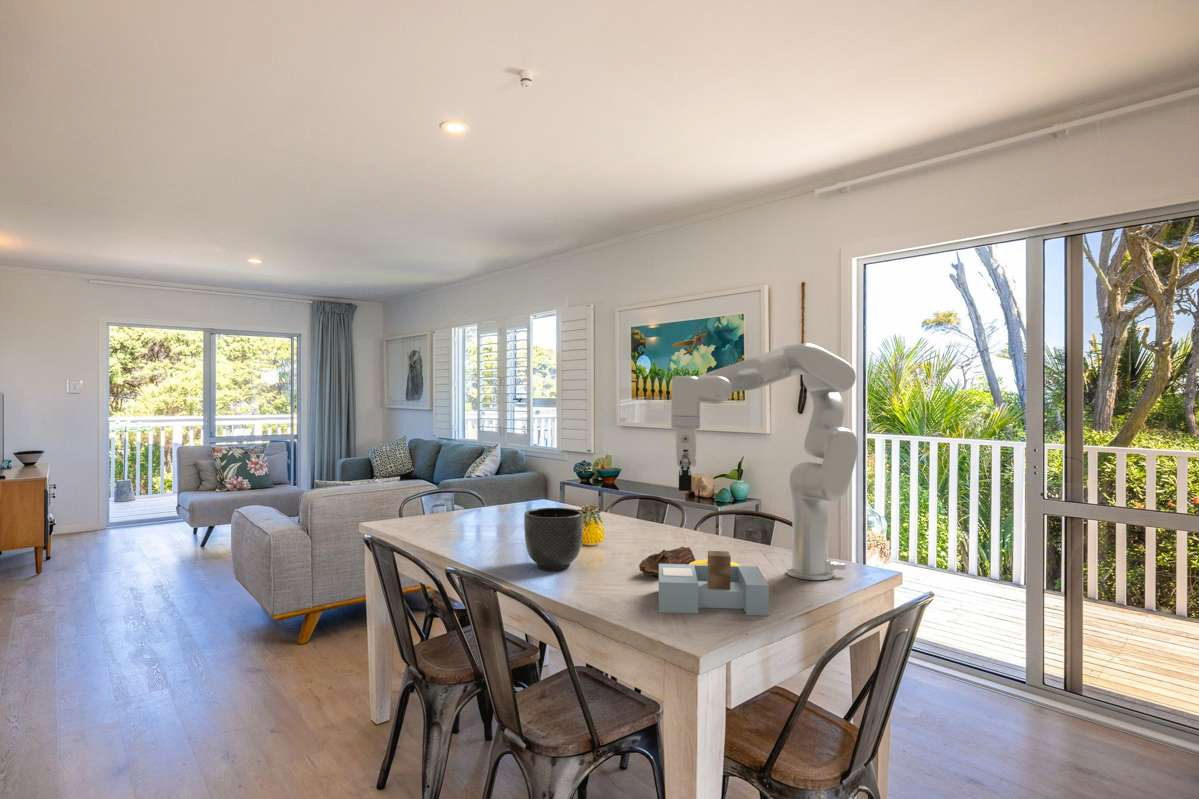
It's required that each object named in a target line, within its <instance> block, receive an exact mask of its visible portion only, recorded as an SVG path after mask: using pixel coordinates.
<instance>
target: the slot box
mask: <svg viewBox="0 0 1199 799" xmlns="http://www.w3.org/2000/svg"><path fill="white" fill-rule="evenodd" d="M769 590H770V585H769V583H768V581H767V580H766V579H765V577H764V575H763V573H762V572H761V570H760V568H759V567H758V566H757V565H741V566H731V569H730V590H724V589H709V586H708V565H692V564H659V576H658V612H659V613H666V614H667V613H670V614H675V613H676V614H699V608H705V609H707V608H708V609H738V610H739V609H741V610H743V611H744V613H745V615H746V616H760V617H761V616H762V617H763V616H764V617H767V616H769V615H770V614H769V612H770V610H769V609H770V608H769V605H770V603H769V602H770V600H769V599H770V598H769V597H770V596H769V595H770V594H769V593H770V591H769Z"/></svg>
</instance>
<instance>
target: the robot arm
mask: <svg viewBox="0 0 1199 799" xmlns="http://www.w3.org/2000/svg"><path fill="white" fill-rule="evenodd" d="M801 375H802V381H803V382H802V383H803V384H804V387H805V388H806V389H807V391H808V393H809V395H810V397H811V399H812V405H813V406H812V412H811V416H810V421H809V424H808V427H807V432H806V435H805V438H804V443H803V444H804V445H803V448H804V451H805V453H806V454H807V455H808V456H809V457H811V458H813V459H818V460H821V461H822V463H818V462H817V463H816V462H813V461H812V462H810V461H806V462H805V461H804V462H799V463H797V465H795V466H793V468H792V469H791V472H790V473H789V474H790V475H789V488H790V489H789V490H790V494H791V501H792V503H791V504H792V535H791V536H792V537H791V538H792V544H791V545H792V546H791V547H792V550H791V551H792V552H791V553H792V554H791V555H792V556H791V558H792V559H791V563H792V564H791V565H790V566H788V567H787V568H786V574H787V575H788V576H789V577H792V578H797V579H800V580H805V581H806V580H807V581H828V580H830V579H833V578H834V570H838V571H846V570H847V569H846V568H847V565H846V563H845V562H838V561H831V560H830V559H829V554H828V552H829V546H828V545H829V510H828V509H829V508H828V506H827V502H836V501H839V500H841V499H842V498H843V497H844V496H845V495H846V493H847V491H848V489H849V485H850V482H851V479H852V476H853V472H854V468H855V464H856V460H857V457H858V454H859V453H858V452H859V443H858V439H857V437H856V435H855V433H854V432H853V431H852V430H851V429H849V428H846V427H843V422H844V417H845V405H844V404H845V403H844V400H843V398H842V396H841V394H840V393H844V392H847V391H849V390H851V388H853V386H854V385H855V382H856V378H857V377H856V371H855V370H854V367H853V366H852V365H851V364H850V363H849V362H847V361H846V360H844V359H842V358H841V357H839V356H838V355H835V354H833V353H832V352H830V351H828V350H826V349H824V348H823V347H820V346H818V345H816V344H813V343H809V342H805V343H804V342H803V343H795V344H789V345H784V346H782V347H778V348H776V349H774V350H771V351H767V352H765V353H762V354H760V355H757V356H754V357H751V358H748V359H745V360H741V361H738V362H736V363H734V364H731V365H730V364H729V365H727V366H726V365H725V366H724V367H721V368H718V369H714V370H711V371H708V372H706V373H703V374H700V375H698V376H695V375H676V376H674V377H672V379H671V400H670V402H671V403H670V404H671V410H670V412H671V417H670V426H671V427H670V428H671V429H672V430H673V429H674V430H675V455H676V456H675V457H676V458H675V459H676V465H677V467H679V470H678V491H680V492H691V491H692V471H691V469H692V468H691V467H692V466H693V467H694V468H696V467H697V430H699V429H701V404H709V405H717V404H723V403H725V402H726V401H728V400H729V399H730V398H731V395H732V394H733V393H736V392H741V391H750V390H751V391H753V390H757V389H761V388H764V387H767V386H770V385H772V384H775V383H777V382H780V381H782V380H785V379H788V378H790V377H793V376H794V377H795V376H801Z"/></svg>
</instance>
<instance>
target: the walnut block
mask: <svg viewBox="0 0 1199 799" xmlns="http://www.w3.org/2000/svg"><path fill="white" fill-rule="evenodd" d="M731 557H732V556H731V554H730V551H729V550H727V551H726V550H725V551H723V550H707V559H708V586H709V589H724V590H730V569H731V562H732V560H731Z"/></svg>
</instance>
